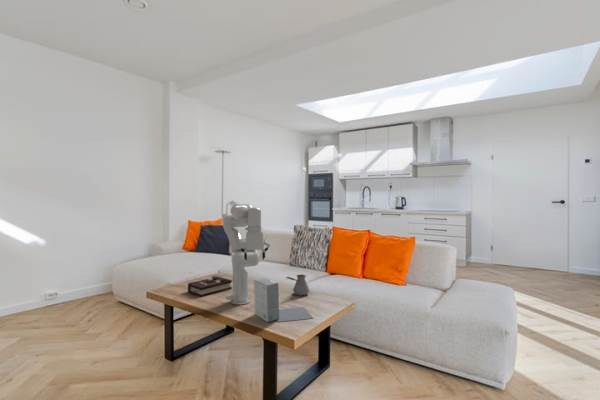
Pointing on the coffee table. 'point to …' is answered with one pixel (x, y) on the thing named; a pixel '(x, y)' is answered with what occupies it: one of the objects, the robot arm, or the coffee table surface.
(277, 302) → the hard drive box
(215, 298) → the coffee table surface
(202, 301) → the coffee table surface
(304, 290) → the coffee pot
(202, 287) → the decorative book
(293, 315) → the mat
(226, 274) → the coffee table surface
